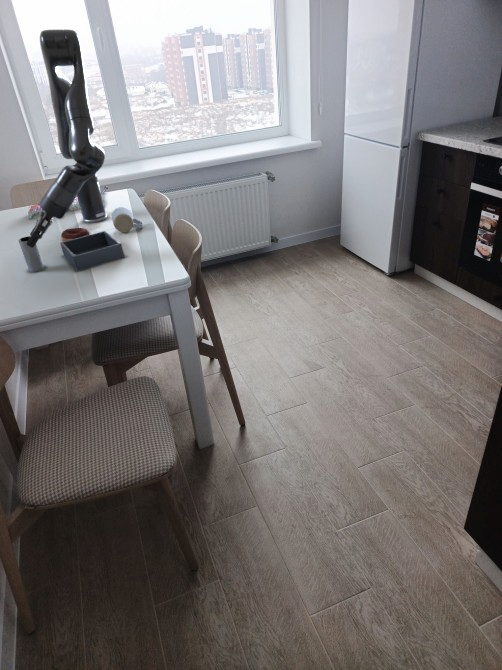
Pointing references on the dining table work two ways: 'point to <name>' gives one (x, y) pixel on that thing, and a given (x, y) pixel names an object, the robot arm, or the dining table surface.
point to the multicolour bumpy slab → (43, 210)
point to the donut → (74, 233)
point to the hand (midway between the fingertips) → (31, 241)
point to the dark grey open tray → (92, 250)
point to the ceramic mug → (124, 220)
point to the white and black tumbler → (31, 255)
